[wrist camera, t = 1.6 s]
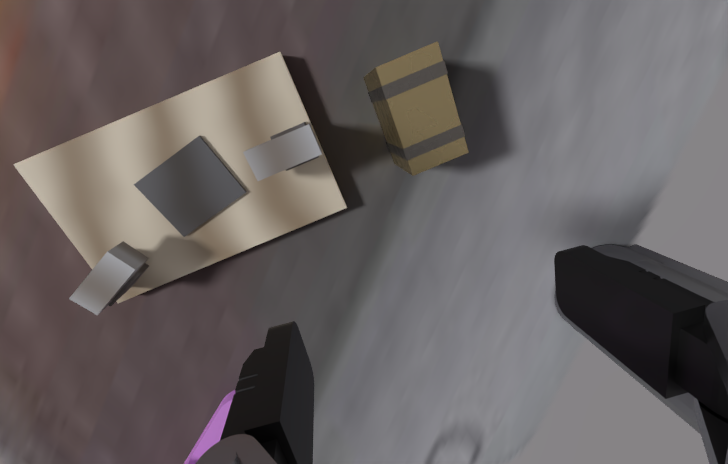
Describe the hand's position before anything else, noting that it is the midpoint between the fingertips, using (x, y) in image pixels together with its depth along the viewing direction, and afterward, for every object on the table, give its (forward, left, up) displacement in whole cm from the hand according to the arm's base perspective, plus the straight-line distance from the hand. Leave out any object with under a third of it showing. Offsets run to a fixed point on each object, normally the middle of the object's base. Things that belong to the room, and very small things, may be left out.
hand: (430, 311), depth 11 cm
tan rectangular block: (-5, -4, -20) cm, 21 cm away
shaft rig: (+12, -5, -20) cm, 23 cm away
